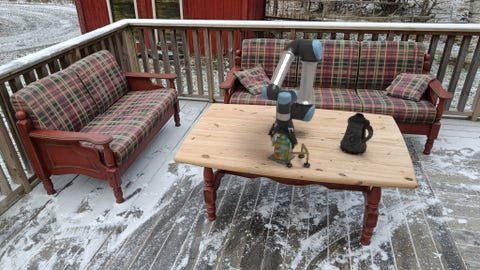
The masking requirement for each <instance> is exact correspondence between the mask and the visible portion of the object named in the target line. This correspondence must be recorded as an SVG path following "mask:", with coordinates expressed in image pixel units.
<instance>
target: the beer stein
mask: <svg viewBox="0 0 480 270" xmlns="http://www.w3.org/2000/svg"><path fill="white" fill-rule="evenodd" d="M373 136H374V129H373V126H372V125H371V122H370V120H369V119H367V118H366V117H365V115H364V113H362V112H357V113H355V114H353V115H351V116H349V117H348V118H347V126H346V129H345V132H344V135H343V137H342V139H341V140H340V142H339V144H340V150H341V151H342V152H344V153H346V154H349V155H354V156H357V155H362V154H365V152H366V150H367V148H368V144H367V142H369V140H371V139H372V138H373Z"/></svg>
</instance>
